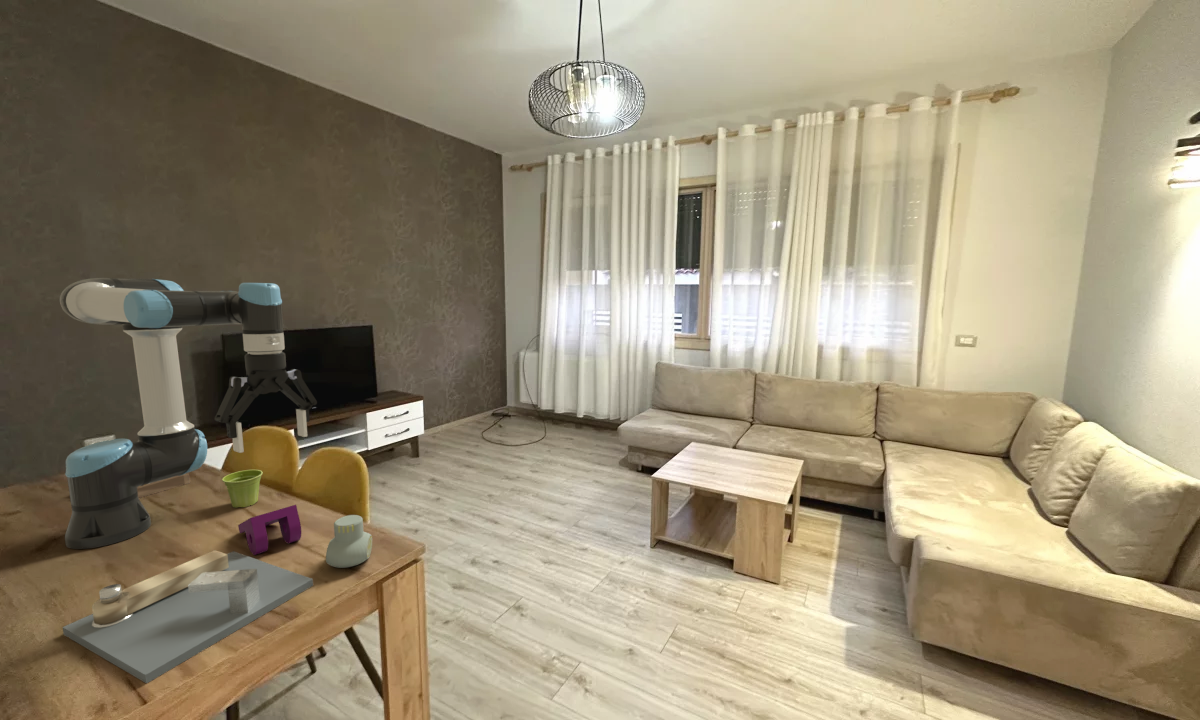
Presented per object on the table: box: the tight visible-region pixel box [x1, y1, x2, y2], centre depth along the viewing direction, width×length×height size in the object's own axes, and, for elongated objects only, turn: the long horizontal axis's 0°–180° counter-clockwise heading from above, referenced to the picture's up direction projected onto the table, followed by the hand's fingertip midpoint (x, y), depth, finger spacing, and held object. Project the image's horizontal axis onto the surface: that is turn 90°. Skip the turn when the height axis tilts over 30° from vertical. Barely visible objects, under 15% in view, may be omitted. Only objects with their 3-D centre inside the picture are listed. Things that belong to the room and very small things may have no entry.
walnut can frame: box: [137, 472, 191, 499], centre depth 148 cm, size 19×19×3 cm
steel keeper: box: [188, 569, 260, 614], centre depth 90 cm, size 10×4×6 cm, turn 99°
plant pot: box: [221, 469, 263, 508], centre depth 138 cm, size 9×9×9 cm
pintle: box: [92, 583, 135, 628], centre depth 87 cm, size 6×6×6 cm
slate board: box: [62, 550, 314, 684], centre depth 93 cm, size 27×28×2 cm
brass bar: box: [91, 549, 229, 624], centre depth 94 cm, size 20×5×3 cm, turn 157°
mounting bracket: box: [237, 504, 302, 556], centre depth 119 cm, size 9×8×18 cm
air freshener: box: [325, 514, 373, 569], centre depth 109 cm, size 11×8×10 cm
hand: (272, 443), depth 109 cm, fingers open, 13 cm apart
